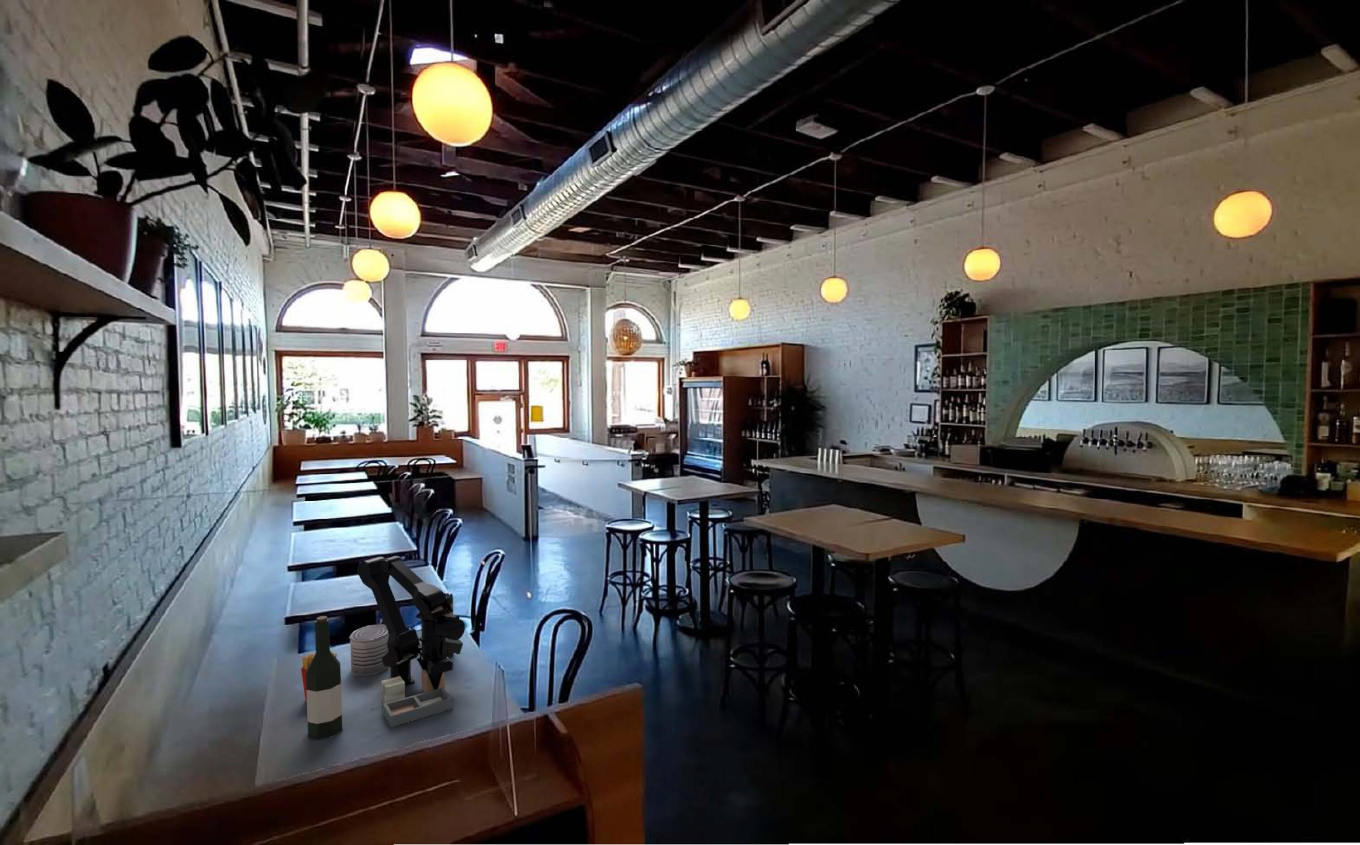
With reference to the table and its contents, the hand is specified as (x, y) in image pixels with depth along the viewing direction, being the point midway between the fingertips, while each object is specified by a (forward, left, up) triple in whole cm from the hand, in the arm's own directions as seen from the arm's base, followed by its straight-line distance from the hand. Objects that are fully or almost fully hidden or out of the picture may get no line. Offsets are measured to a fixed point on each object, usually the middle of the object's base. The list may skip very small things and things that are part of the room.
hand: (433, 685), depth 190 cm
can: (-28, -11, -2) cm, 30 cm away
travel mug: (-24, +10, -2) cm, 26 cm away
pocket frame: (+10, -7, -2) cm, 12 cm away
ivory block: (0, -11, -2) cm, 11 cm away
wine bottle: (+6, -29, -2) cm, 29 cm away
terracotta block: (0, 0, -2) cm, 2 cm away
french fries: (-15, -27, -2) cm, 31 cm away
